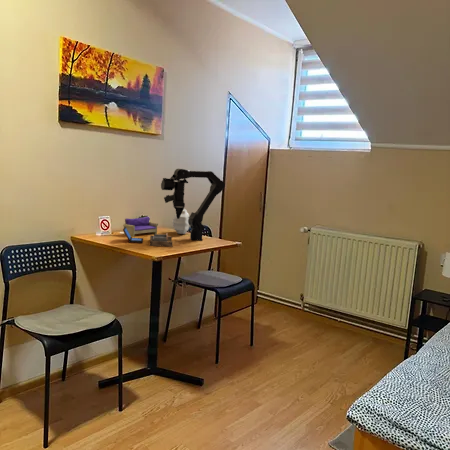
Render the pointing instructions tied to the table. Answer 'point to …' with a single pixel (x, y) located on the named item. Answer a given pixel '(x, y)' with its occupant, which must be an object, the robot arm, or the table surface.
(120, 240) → the table surface
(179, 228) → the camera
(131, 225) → the toy sofa
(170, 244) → the bay
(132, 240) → the handheld game console
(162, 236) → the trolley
